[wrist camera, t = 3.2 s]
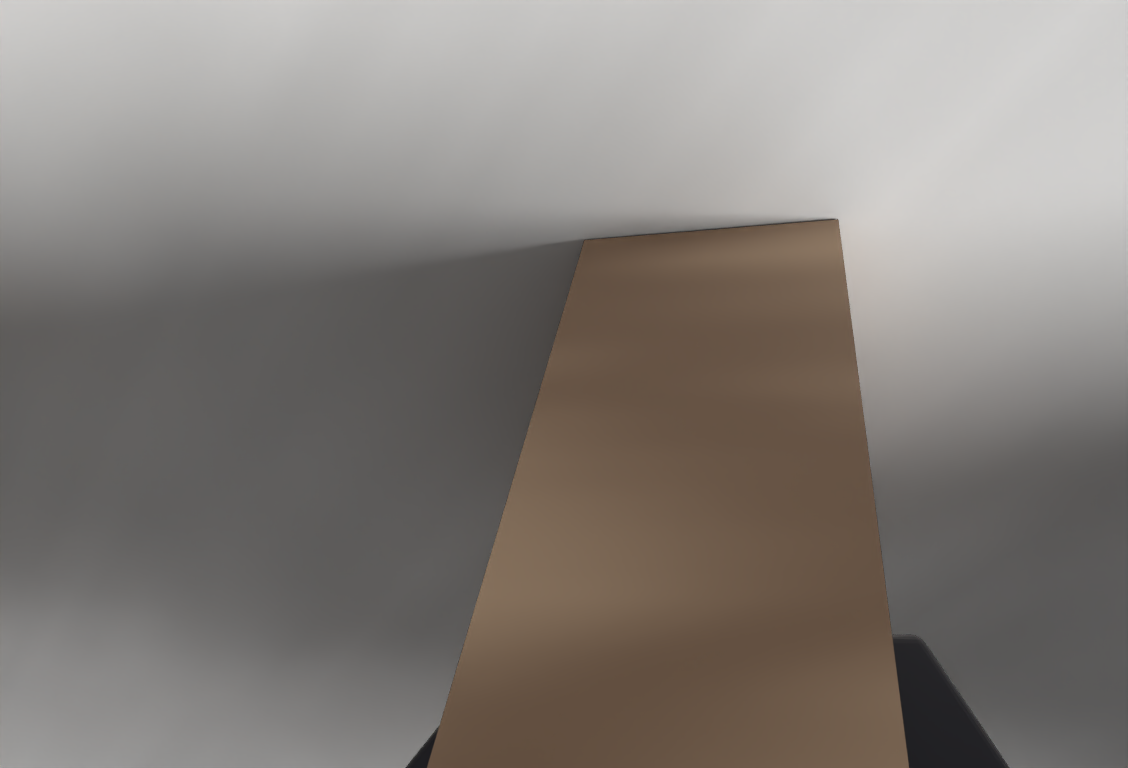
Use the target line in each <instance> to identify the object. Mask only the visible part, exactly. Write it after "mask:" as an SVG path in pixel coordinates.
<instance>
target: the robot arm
mask: <svg viewBox="0 0 1128 768" xmlns="http://www.w3.org/2000/svg"><path fill="white" fill-rule="evenodd" d="M892 639H893V647H894V655H895V663H896V670H897V678H898V686H899V694H900V701H901V709H902V717H903V725H904V732H905V740H906V748H907V756H908V763H909V768H1010V767H1009V766H1008V764H1007V763H1006V761H1005V760H1004V759H1003V757H1002V756H1001V754H1000V753H999V751H998V750H997V748H996V747H995V745H994V744H993V742H992V741H991V739H990V738H989V736H988V735H987V733H986V732H985V730H984V729H983V727H982V726H981V724H980V723H979V721H978V720H977V719H976V717H975V716H974V714H973V713H972V711H971V710H970V708H969V707H968V705H967V704H966V702H965V701H964V699H963V698H962V696H961V695H960V693H959V692H958V690H957V689H956V687H955V686H954V684H953V683H952V682H951V680H950V679H949V677H948V676H947V674H946V673H945V671H944V670H943V668H942V667H941V665H940V664H939V662H938V661H937V659H936V658H935V656H934V655H933V653H932V652H931V650H930V649H929V647H928V646H927V645H926V643H925V642H924V641H923V640H922V639H921V638H919V637H918V636H916V635H892ZM439 726H440V725H439ZM438 729H439V727H438V728H437V729H436V730H435V732H434V733H433V734H432V735H431V737H430V738H429V739H428V740H427V742H426V743H425V744H424V745H423V747H422V748H421V749H420V750H419V752H418V753H417V754H416V755H415V757H414V758H413V759H412V760H411V762H410V763H409V764H408V765H407V767H406V768H427V766H428V763H429V759H430V756H431V753H432V749H433V746H434V743H435V739H436V736H437V732H438Z"/></svg>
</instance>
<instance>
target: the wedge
mask: <svg viewBox="0 0 1128 768" xmlns="http://www.w3.org/2000/svg"><path fill="white" fill-rule="evenodd" d="M427 768H909V763H908V756H907V748H906V740H905V732H904V725H903V717H902V709H901V701H900V694H899V686H898V678H897V670H896V663H895V655H894V647H893V639H892V632H891V624H890V616H889V608H888V601H887V593H886V585H885V577H884V570H883V562H882V554H881V546H880V539H879V531H878V523H877V515H876V508H875V500H874V492H873V484H872V477H871V469H870V461H869V453H868V446H867V438H866V430H865V422H864V415H863V407H862V399H861V392H860V384H859V376H858V368H857V361H856V353H855V345H854V337H853V330H852V322H851V314H850V306H849V299H848V291H847V283H846V275H845V268H844V260H843V252H842V244H841V237H840V229H839V221H838V219H837V220H825V221H813V222H800V223H788V224H776V225H764V226H751V227H739V228H727V229H715V230H702V231H690V232H678V233H666V234H654V235H641V236H629V237H617V238H605V239H592V240H584V243H583V246H582V250H581V253H580V256H579V260H578V263H577V266H576V270H575V273H574V276H573V280H572V283H571V286H570V290H569V293H568V297H567V300H566V303H565V307H564V310H563V313H562V317H561V320H560V323H559V327H558V330H557V333H556V337H555V340H554V343H553V347H552V350H551V354H550V357H549V360H548V364H547V367H546V370H545V374H544V377H543V380H542V384H541V387H540V390H539V394H538V397H537V400H536V404H535V407H534V411H533V414H532V417H531V421H530V424H529V427H528V431H527V434H526V437H525V441H524V444H523V447H522V451H521V454H520V457H519V461H518V464H517V468H516V471H515V474H514V478H513V481H512V484H511V488H510V491H509V494H508V498H507V501H506V504H505V508H504V511H503V514H502V518H501V521H500V525H499V528H498V531H497V535H496V538H495V541H494V545H493V548H492V551H491V555H490V558H489V561H488V565H487V568H486V572H485V575H484V578H483V582H482V585H481V588H480V592H479V595H478V598H477V602H476V605H475V608H474V612H473V615H472V618H471V622H470V625H469V629H468V632H467V635H466V639H465V642H464V645H463V649H462V652H461V655H460V659H459V662H458V665H457V669H456V672H455V675H454V679H453V682H452V686H451V689H450V692H449V696H448V699H447V702H446V706H445V709H444V712H443V716H442V719H441V722H440V726H439V729H438V732H437V736H436V739H435V743H434V746H433V749H432V753H431V756H430V759H429V763H428V766H427Z"/></svg>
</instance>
